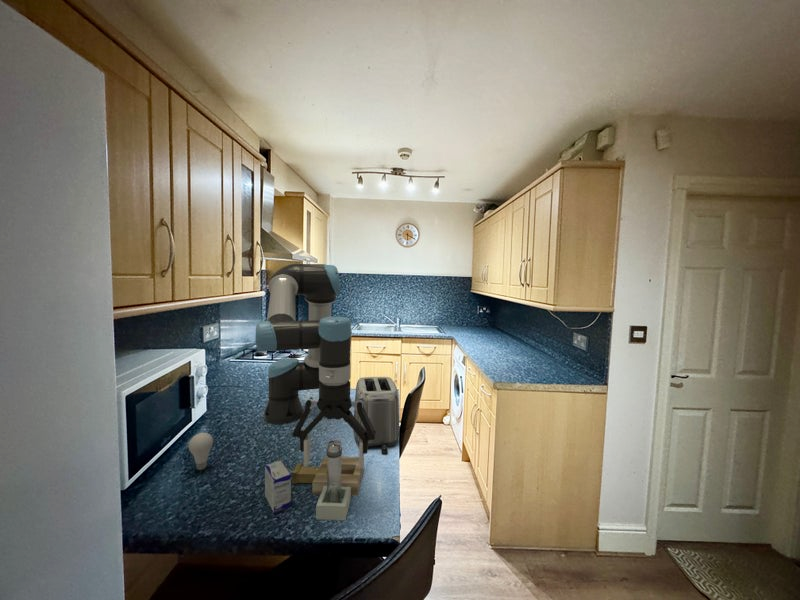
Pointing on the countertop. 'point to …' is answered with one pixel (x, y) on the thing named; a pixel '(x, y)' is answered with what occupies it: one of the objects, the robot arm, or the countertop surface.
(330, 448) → the grey peg
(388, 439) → the toaster
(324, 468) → the yellow brown block
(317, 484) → the socket block
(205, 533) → the countertop surface
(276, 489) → the box
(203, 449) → the lightbulb
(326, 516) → the tray
